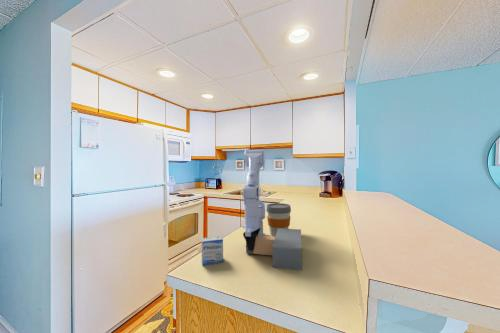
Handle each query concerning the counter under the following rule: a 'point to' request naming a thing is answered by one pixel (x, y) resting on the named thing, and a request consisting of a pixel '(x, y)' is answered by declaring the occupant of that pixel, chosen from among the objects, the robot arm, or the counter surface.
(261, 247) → the grey and tan block
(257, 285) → the counter surface
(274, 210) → the reusable coffee cup
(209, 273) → the counter surface
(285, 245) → the block
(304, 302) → the counter surface
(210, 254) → the medicine box
